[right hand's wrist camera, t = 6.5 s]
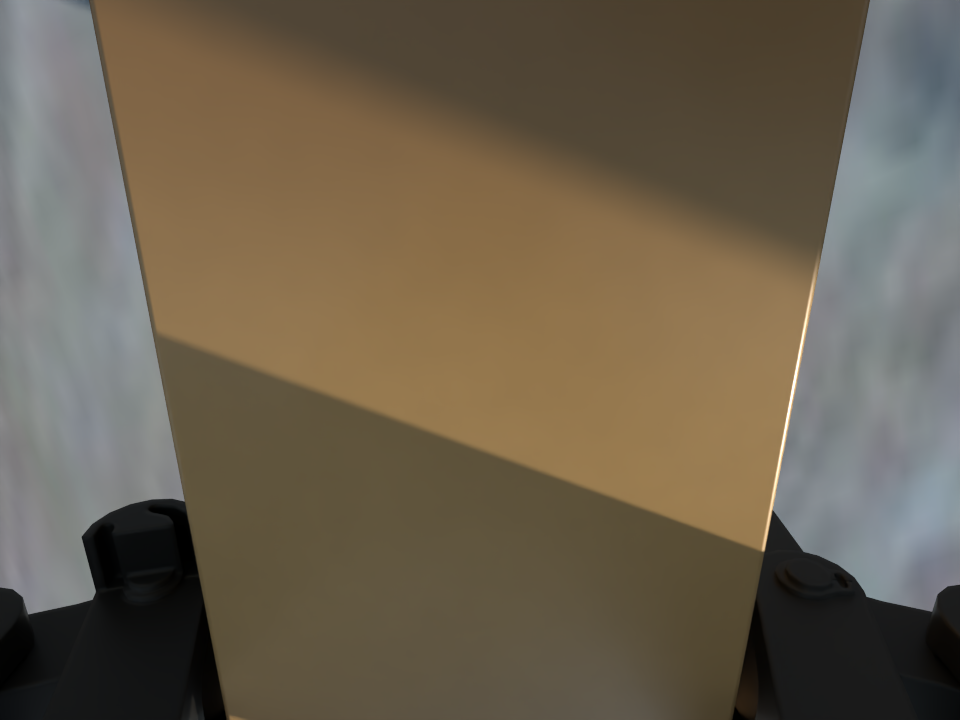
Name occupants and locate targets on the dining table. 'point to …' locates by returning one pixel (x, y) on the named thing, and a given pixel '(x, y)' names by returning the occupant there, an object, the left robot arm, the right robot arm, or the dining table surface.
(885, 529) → the dining table surface
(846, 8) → the bar
